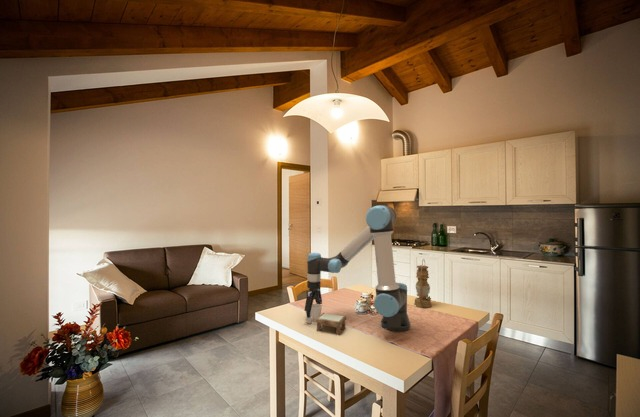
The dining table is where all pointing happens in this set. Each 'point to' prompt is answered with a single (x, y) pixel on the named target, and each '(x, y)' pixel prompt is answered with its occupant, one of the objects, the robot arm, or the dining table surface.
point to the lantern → (422, 287)
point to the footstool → (331, 324)
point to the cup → (315, 311)
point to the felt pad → (331, 317)
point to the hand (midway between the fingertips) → (313, 319)
